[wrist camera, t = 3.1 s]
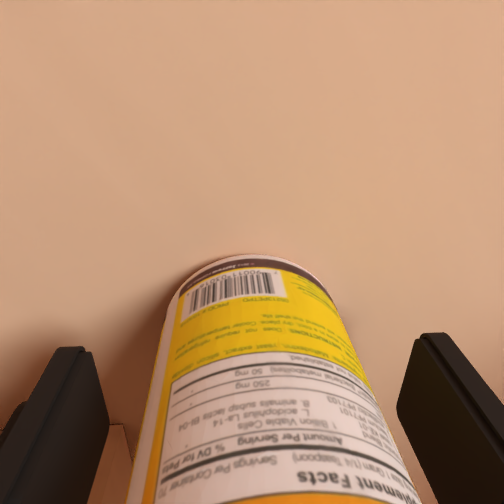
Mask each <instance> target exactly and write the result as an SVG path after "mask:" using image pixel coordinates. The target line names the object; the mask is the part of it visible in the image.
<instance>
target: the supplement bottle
mask: <svg viewBox="0 0 504 504" xmlns="http://www.w3.org/2000/svg"><path fill="white" fill-rule="evenodd" d="M124 504H422V502H421V500H420V498H419V496H418V493H417V491H416V489H415V487H414V484H413V482H412V480H411V478H410V475H409V473H408V471H407V469H406V466H405V464H404V462H403V460H402V457H401V455H400V453H399V451H398V448H397V446H396V443H395V441H394V438H393V436H392V434H391V432H390V429H389V427H388V425H387V423H386V421H385V418H384V416H383V414H382V412H381V410H380V407H379V405H378V403H377V400H376V398H375V396H374V394H373V391H372V389H371V387H370V385H369V382H368V380H367V378H366V375H365V373H364V371H363V368H362V366H361V364H360V361H359V359H358V357H357V355H356V353H355V350H354V348H353V346H352V344H351V341H350V339H349V337H348V334H347V332H346V330H345V328H344V325H343V323H342V321H341V319H340V316H339V314H338V312H337V309H336V307H335V305H334V303H333V301H332V299H331V297H330V295H329V294H328V292H327V290H326V289H325V287H324V286H323V285H322V284H321V282H320V281H319V280H318V279H317V278H316V277H315V276H314V275H312V274H311V273H310V272H309V271H307V270H306V269H304V268H303V267H301V266H299V265H297V264H295V263H293V262H291V261H288V260H286V259H283V258H279V257H275V256H269V255H261V254H247V255H238V256H232V257H228V258H225V259H221V260H219V261H216V262H214V263H211V264H209V265H207V266H205V267H204V268H202V269H200V270H199V271H197V272H196V273H194V274H193V275H192V276H191V277H190V278H188V279H187V280H186V281H185V282H184V283H183V284H182V286H181V287H180V288H179V289H178V291H177V292H176V293H175V295H174V297H173V298H172V300H171V302H170V304H169V307H168V309H167V312H166V316H165V319H164V323H163V327H162V332H161V337H160V341H159V346H158V350H157V355H156V359H155V364H154V369H153V374H152V378H151V382H150V387H149V392H148V397H147V401H146V406H145V411H144V415H143V420H142V424H141V429H140V433H139V438H138V443H137V447H136V452H135V456H134V461H133V465H132V470H131V474H130V479H129V483H128V488H127V492H126V497H125V501H124Z"/></svg>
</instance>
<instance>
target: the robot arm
mask: <svg viewBox="0 0 504 504" xmlns="http://www.w3.org/2000/svg"><path fill="white" fill-rule="evenodd" d="M396 410H397V415H398V418H399V420H400V422H401V425H402V427H403V429H404V431H405V433H406V435H407V437H408V439H409V442H410V444H411V446H412V448H413V450H414V452H415V454H416V456H417V459H418V461H419V463H420V465H421V467H422V469H423V471H424V473H425V476H426V478H427V480H428V482H429V484H430V486H431V488H432V490H433V493H434V495H435V497H436V499H437V501H438V503H439V504H504V405H503V404H502V403H501V401H500V400H499V399H498V397H497V396H496V395H495V394H494V392H493V391H492V390H491V389H490V388H489V386H488V385H487V384H486V382H485V381H484V380H483V379H482V377H481V376H480V375H479V374H478V372H477V371H476V370H475V368H474V367H473V366H472V365H471V363H470V362H469V361H468V359H467V358H466V357H465V356H464V354H463V353H462V352H461V351H460V349H459V348H458V347H457V345H456V344H455V343H454V342H453V340H452V339H451V338H450V336H449V335H448V334H446V333H444V332H442V333H423V334H422V335H421V336H420V338H419V339H416V340H415V342H414V345H413V348H412V352H411V355H410V359H409V362H408V366H407V369H406V373H405V376H404V380H403V383H402V387H401V391H400V394H399V398H398V401H397V406H396ZM109 425H110V421H109V416H108V412H107V408H106V404H105V401H104V397H103V393H102V389H101V386H100V382H99V378H98V374H97V370H96V367H95V363H94V359H93V355H92V353H91V352H86V351H85V348H84V347H83V346H76V347H59V348H58V349H57V350H56V351H55V353H54V355H53V356H52V358H51V360H50V362H49V364H48V365H47V367H46V369H45V371H44V373H43V374H42V376H41V378H40V380H39V381H38V383H37V385H36V387H35V389H34V390H33V392H32V394H31V396H30V397H29V399H28V401H26V402H22V403H21V404H20V405H18V407H17V408H16V409H15V411H14V412H13V414H12V416H11V417H10V419H9V421H8V423H7V424H6V426H5V428H4V429H3V431H2V433H1V435H0V504H87V502H88V499H89V495H90V492H91V489H92V486H93V482H94V479H95V476H96V472H97V469H98V466H99V462H100V459H101V456H102V453H103V449H104V446H105V443H106V439H107V436H108V432H109Z"/></svg>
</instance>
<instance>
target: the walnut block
mask: <svg viewBox="0 0 504 504" xmlns="http://www.w3.org/2000/svg"><path fill="white" fill-rule="evenodd" d="M1 433H2V431H0V435H1ZM131 470H132V461H131V457H130V453H129V449H128V445H127V440H126V436H125V432H124V428H123V425H109V432H108V436H107V439H106V443H105V446H104V449H103V453H102V456H101V459H100V462H99V466H98V469H97V472H96V476H95V479H94V482H93V486H92V489H91V492H90V495H89V499H88V502H87V504H124V501H125V497H126V492H127V488H128V483H129V479H130V474H131Z"/></svg>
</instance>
